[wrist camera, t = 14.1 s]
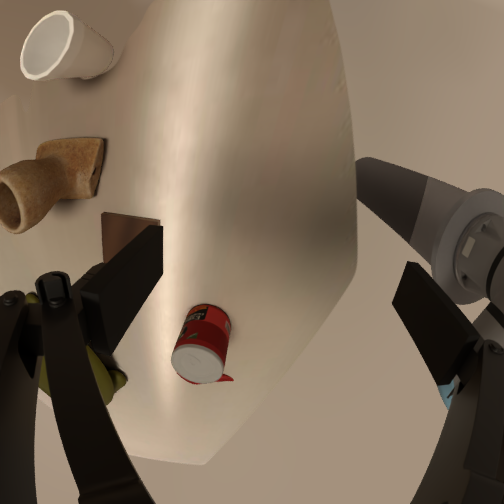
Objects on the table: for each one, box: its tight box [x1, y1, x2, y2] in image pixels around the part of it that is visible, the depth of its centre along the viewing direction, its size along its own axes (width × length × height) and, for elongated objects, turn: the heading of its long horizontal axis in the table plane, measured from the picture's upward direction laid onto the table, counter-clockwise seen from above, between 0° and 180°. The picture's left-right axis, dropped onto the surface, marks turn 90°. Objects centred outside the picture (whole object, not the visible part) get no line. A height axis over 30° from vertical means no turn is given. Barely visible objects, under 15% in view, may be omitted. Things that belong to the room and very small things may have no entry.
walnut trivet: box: [101, 212, 160, 263], centre depth 43 cm, size 10×10×1 cm
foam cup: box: [20, 11, 114, 81], centre depth 25 cm, size 10×9×13 cm
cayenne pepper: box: [177, 373, 234, 384], centre depth 54 cm, size 12×5×2 cm, turn 77°
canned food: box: [171, 305, 231, 384], centre depth 44 cm, size 8×8×11 cm
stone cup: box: [0, 138, 104, 234], centre depth 32 cm, size 15×12×15 cm
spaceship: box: [26, 294, 126, 405], centre depth 52 cm, size 35×31×10 cm
